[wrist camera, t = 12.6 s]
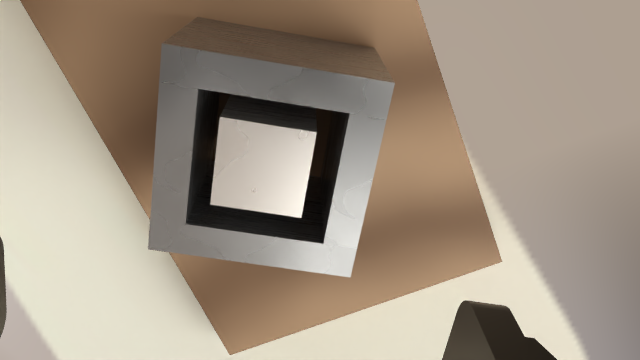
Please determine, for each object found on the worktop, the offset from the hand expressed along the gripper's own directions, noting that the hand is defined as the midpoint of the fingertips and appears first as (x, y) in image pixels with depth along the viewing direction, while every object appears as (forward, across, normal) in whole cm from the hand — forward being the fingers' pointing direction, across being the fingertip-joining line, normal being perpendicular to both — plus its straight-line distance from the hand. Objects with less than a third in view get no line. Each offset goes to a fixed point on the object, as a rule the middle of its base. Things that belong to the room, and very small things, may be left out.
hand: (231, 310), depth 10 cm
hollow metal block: (+11, 0, 0) cm, 11 cm away
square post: (+11, 0, 0) cm, 11 cm away
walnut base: (+13, 0, 0) cm, 13 cm away
